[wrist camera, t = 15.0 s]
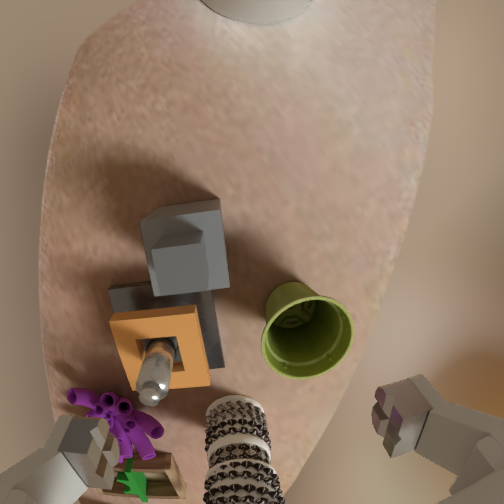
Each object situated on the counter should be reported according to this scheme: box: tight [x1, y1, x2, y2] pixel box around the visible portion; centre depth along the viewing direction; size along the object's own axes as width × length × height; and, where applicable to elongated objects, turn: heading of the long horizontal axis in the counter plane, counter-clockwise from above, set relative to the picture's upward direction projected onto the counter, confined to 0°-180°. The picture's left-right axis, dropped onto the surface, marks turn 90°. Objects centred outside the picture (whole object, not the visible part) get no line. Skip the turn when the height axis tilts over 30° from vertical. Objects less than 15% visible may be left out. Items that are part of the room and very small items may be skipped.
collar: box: [109, 304, 210, 391], centre depth 32 cm, size 9×9×2 cm
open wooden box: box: [96, 454, 186, 499], centre depth 43 cm, size 10×17×4 cm, turn 96°
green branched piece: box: [116, 454, 148, 502], centre depth 42 cm, size 10×4×4 cm, turn 3°
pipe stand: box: [108, 281, 225, 406], centre depth 31 cm, size 12×12×14 cm
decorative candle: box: [203, 395, 285, 504], centre depth 30 cm, size 9×9×25 cm
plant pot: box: [261, 282, 354, 379], centre depth 34 cm, size 9×9×9 cm
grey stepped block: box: [140, 199, 230, 297], centre depth 29 cm, size 7×7×13 cm
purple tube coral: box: [67, 388, 164, 463], centre depth 37 cm, size 11×15×10 cm
